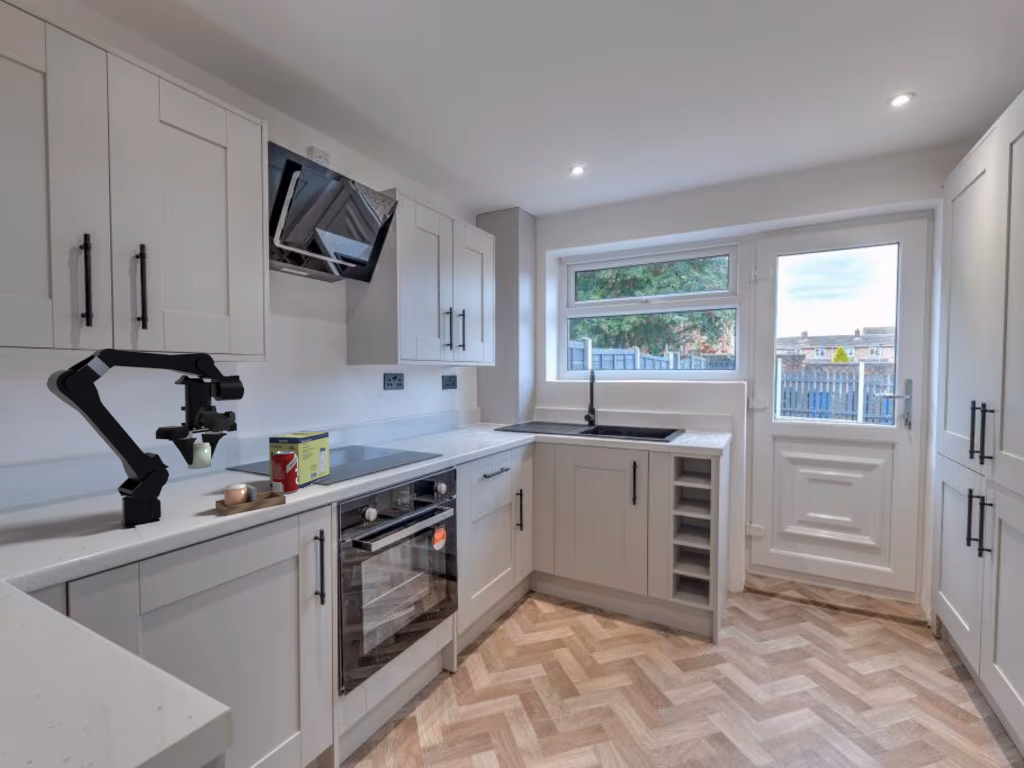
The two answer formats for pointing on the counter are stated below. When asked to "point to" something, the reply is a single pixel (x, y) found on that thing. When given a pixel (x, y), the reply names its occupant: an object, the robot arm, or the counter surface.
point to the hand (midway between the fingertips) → (199, 462)
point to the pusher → (251, 493)
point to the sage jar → (201, 455)
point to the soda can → (285, 472)
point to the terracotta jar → (235, 494)
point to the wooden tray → (253, 503)
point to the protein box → (304, 454)
